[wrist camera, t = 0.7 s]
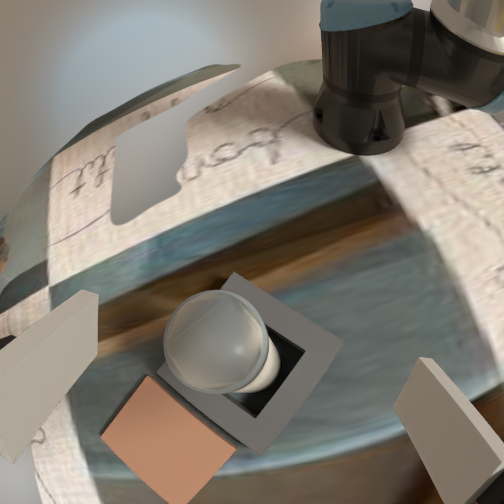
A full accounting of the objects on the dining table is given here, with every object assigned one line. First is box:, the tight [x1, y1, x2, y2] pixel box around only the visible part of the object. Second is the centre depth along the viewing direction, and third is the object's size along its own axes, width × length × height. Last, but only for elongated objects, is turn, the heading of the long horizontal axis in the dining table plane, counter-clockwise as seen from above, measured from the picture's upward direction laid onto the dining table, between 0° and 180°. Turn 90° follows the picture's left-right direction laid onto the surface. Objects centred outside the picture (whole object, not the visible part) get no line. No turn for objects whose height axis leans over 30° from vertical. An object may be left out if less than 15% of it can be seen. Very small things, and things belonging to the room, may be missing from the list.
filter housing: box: [156, 272, 345, 456], centre depth 31 cm, size 14×14×3 cm
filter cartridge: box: [163, 290, 281, 394], centre depth 26 cm, size 7×7×15 cm
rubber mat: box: [101, 376, 238, 504], centre depth 29 cm, size 11×13×1 cm
